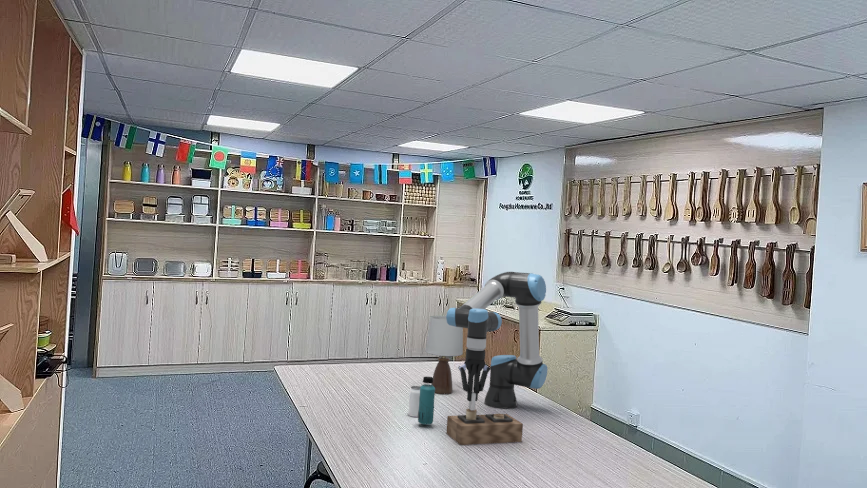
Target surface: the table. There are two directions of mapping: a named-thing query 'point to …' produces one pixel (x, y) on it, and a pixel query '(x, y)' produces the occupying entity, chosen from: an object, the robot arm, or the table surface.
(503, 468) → the table surface
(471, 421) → the walnut block
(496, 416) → the peg
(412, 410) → the can
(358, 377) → the table surface
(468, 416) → the peg
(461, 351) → the lamp
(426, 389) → the beverage bottle
